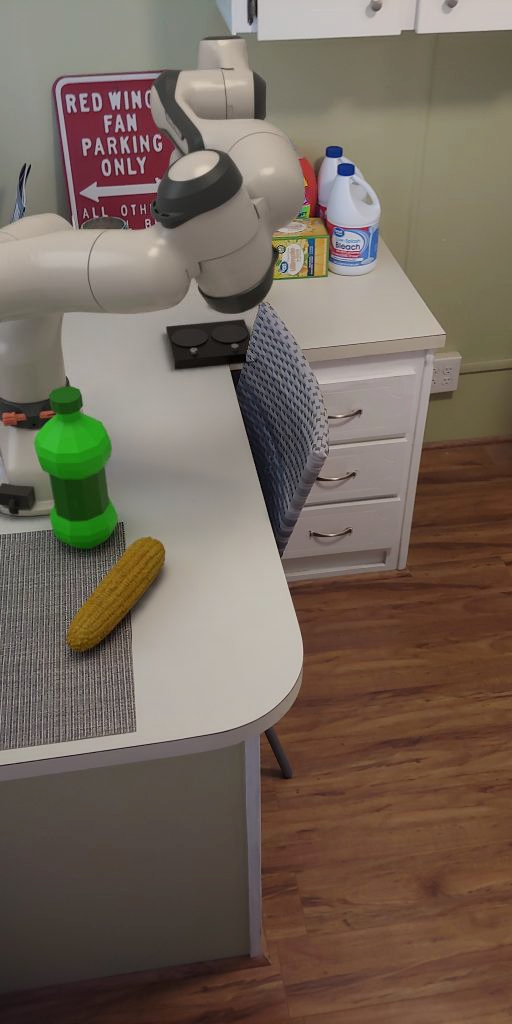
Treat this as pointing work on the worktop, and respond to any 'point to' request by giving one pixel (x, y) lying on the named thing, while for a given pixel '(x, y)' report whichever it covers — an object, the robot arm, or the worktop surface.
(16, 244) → the robot arm
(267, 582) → the worktop surface
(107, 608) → the food
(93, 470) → the plastic bottle
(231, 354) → the hot plate
